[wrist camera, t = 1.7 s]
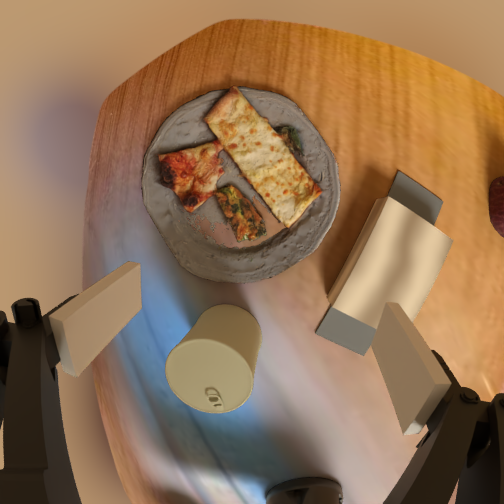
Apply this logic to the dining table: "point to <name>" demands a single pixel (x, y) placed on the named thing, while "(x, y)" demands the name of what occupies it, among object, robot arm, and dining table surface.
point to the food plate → (240, 182)
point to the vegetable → (497, 204)
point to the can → (216, 360)
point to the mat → (348, 328)
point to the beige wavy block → (390, 264)
